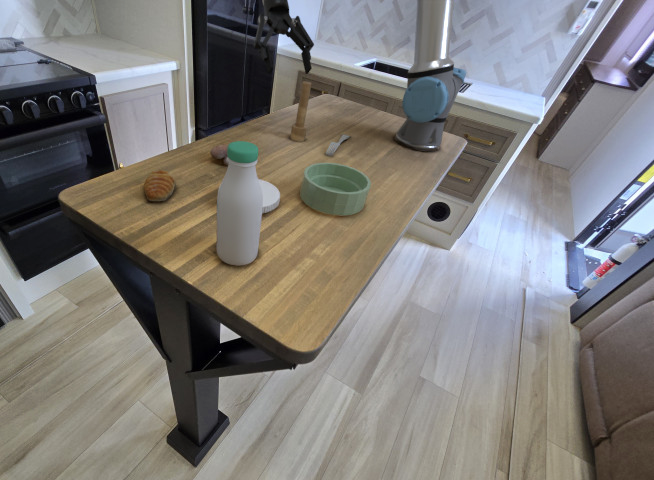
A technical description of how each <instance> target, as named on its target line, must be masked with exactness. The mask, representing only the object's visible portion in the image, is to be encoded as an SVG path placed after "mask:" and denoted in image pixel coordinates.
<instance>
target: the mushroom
mask: <svg viewBox="0 0 654 480" xmlns="http://www.w3.org/2000/svg"><path fill="white" fill-rule="evenodd" d="M228 145H229V144H218V145H215V146H214V147H212V148H211V149H210V155H211V156H212V158H213V159H216V160H221V159H223V163H224V165H226V166H228V165H229V162H228V161H227V158H228V156H227V148H228Z"/></svg>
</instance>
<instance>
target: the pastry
mask: <svg viewBox="0 0 654 480" xmlns="http://www.w3.org/2000/svg"><path fill="white" fill-rule="evenodd" d="M176 183H177V181H176V179H175V178H174V177H173V175H171V173H170V172H169V171H167V170H165V169H157V170H155V171H151V172H150V173H149V174H148V177H146V178H145V180H144V184H143V190H144V192H145V193H144V194H145V197H146V198H147V200H148V201H149V202H164V201H167V200H168V198H169V197H170V198H171V196H172V195H173V192H174V190H175V186H176Z"/></svg>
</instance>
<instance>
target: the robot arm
mask: <svg viewBox="0 0 654 480" xmlns="http://www.w3.org/2000/svg"><path fill="white" fill-rule="evenodd" d="M261 1H262V6H263V12H260V13H259V16H258V18H257V28H256V29H257V30H256V34H255V38H254V43H253V49H255V50H258V53H259V54H261V60H262V62H264V63H265V67H266V71H267V74H268V75H269V74H271V73H272V71H273V69H274V64H273V59H272V55H271V50H270V46H269V45H267V44H268V43H269V40H270V39H271V37H272V35H273V33H274V34H275V35H283V36H284V35H285V36H286V37H287V38H289V39H290V40H291V41H292V42H293V43H294V44H295V45H296V46H297V47H298V48H299V49H300V51H301V53H300V54H301V59H302V65H303V68H304V73H305V75H308V74H309V73H310V72H311V70H312V69H313V67H312V63H311V60H312V55H311V50H312V49H313V47H314V46H315V43H314V42H313V40H312V38H311V37H310V35H309V33H308V32H307V30H306V28H305V27H304V25H303V23H302V20H301V18H300V16H299V15H296V16H295V17H293V18H292V17H291V15H290V6H289V2H288V0H261ZM454 4H455V0H416V18H415V36H414V57H413V64H412V65H411V67H410V68H409V70H408V71H407V83H406V89H405V91H404V94H403V97H402V104H401V105H402V110H403V111H402V112H403V113H404V115H405V116H406V120H404V122H403V123H402V125H401V126H400V128H399V129H398V130H397V132H396V134H395V137H394V139H395V141H396V143H398V144H400V145H401V146H403V147H406V148H409V149H411V150H414V151H420V152H431V153H432V152H436V151H438V150H440V147H441V145H442V141H443V134H444V127H445V123H446V121H447V118H448V116H449V115H450V112H451V109H452V107H453V105H454V103H455V101H456V99H457V97H458V94H459V92H460V90H461V87H462V86H463V84H464V82H465V78H466V76H467V71H466V70H465V69H463V68H459V67H455V62H454V61H453V60H452V59H451V58H450V45H451V36H452V27H453V16H454V7H455V6H454ZM266 24H267V26H268V27H269V29H268V31H267V33H266V35H265V37H264V39H263V41H261V40H262V35H263V32H264V26H265V25H266Z"/></svg>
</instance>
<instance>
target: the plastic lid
mask: <svg viewBox="0 0 654 480" xmlns="http://www.w3.org/2000/svg"><path fill="white" fill-rule="evenodd" d="M258 181H259V183H260V186H261V189H262V195H263V206H262V214H266V213H269V212H272V211H273V210H275V209H276V208H277V207H278V206H279V205H280V202H281V201H280V199H281V192H280V190H279V188H278V187H277V186H275V185H274V184H272V183H271V182H268V181H266V180H263V179H260V178H258ZM218 191H219V189H218ZM218 191H217V192H218Z"/></svg>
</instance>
